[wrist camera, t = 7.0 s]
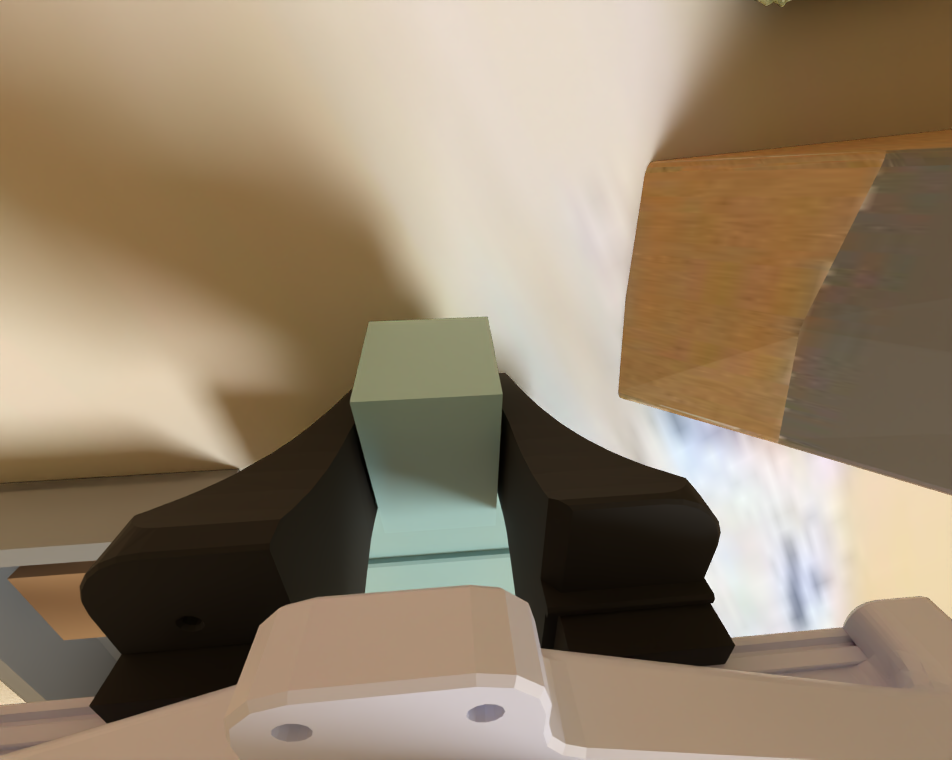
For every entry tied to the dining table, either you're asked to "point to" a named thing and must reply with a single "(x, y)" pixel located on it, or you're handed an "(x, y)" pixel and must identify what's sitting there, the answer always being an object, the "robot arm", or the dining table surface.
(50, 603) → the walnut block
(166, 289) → the dining table surface
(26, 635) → the tub
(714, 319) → the sandwich container
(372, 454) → the mint green stepped piece
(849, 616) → the robot arm
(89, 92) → the dining table surface
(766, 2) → the washcloth
